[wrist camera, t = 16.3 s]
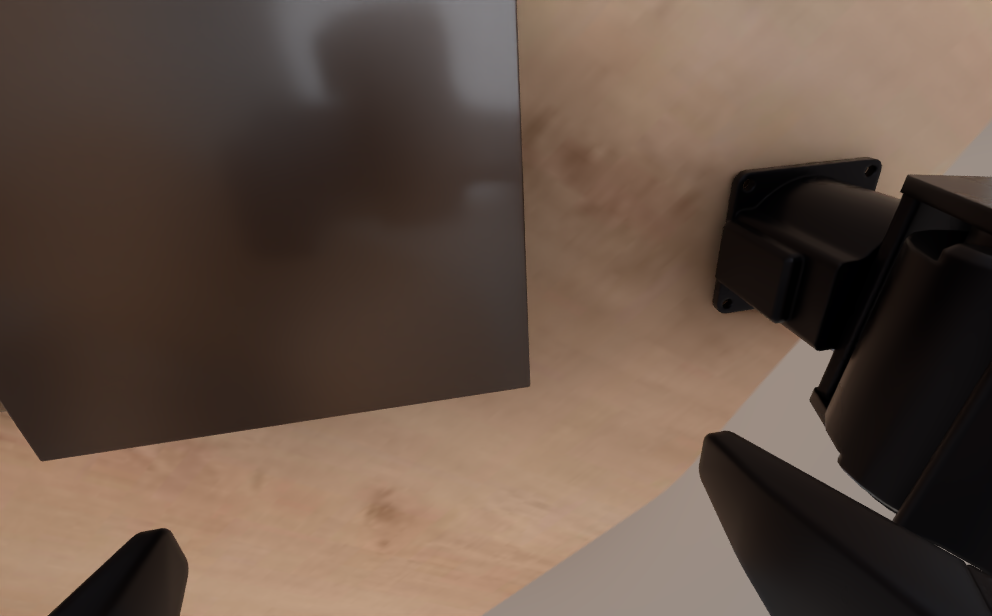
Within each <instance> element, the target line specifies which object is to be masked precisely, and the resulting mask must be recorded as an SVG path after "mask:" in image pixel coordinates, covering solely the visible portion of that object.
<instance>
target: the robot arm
mask: <svg viewBox="0 0 992 616" xmlns="http://www.w3.org/2000/svg"><path fill="white" fill-rule="evenodd" d="M867 168H868V170H867V172H866V173H865V171H866V169H867ZM881 168H882V165H881V162H880V161H879V160H877V159H873V158H869V157H863V158H854V159H845V160H836V161H826V162H817V163H808V164H799V165H789V166H780V167H771V168H762V169H752V170H745V171H741V172H740V173H738V174H737V175H736V176H735V178H734V179H733V182H732V187H731V193H730V199H729V205H728V211H727V217H726V223H725V225H724V227H723V233H722V239H721V245H720V251H719V257H718V263H717V269H716V275H715V277H716V284H715V290H714V296H713V306H714V307H715V308H716V309H717V310H718V311H719V312H721V313H731V312H738V311H745V310H752V309H756V310H757V311H759V312H760V313H761V314H763V315H764V316H765V317H766V318H768V319H769V320H770V321H772V322H773V323H781V324H782V325H784V326H785V327H786V328H788V329H789V330H790V331H792V332H793V333H794V334H796V335H797V336H798V337H800V338H801V339H802V340H804V341H805V342H807V343H808V344H809V345H810V346H812V347H813V348H815V349H816V350H817V351H823V350H829V349H831V350H832V351H833V355H832V357H831V359H830V362H829V364H828V366H827V368H826V371H825V373H824V375H823V377H822V380H821V382H820V384H819V386H818V387H815V388H814V390H813V393H812V395H811V397H810V402H811V404H812V406H813V407H814V409H815V411H816V412H817V414H818V416H819V417H820V419H821V421H822V422H823V424H824V426H825V427H826V431H827V433H828V435H829V436H830V438H831V440H832V442H833V443H834V445H835V447H836V449H837V450H838V451H839V452H840V455H839V457H838V463H839V465H840V466H841V468H842V469H843V470H844V471H845V472H846V473H847V474H848V475H849V476H850V477H851V478H852V479H853V480H854V481H855V482H856V483H857V484H858V485H859V486H860V487H862V488H863V489H864V490H866V491H867V492H868V493H869V494H870V495H871V496H872V497H873V498H874V499H876V500H877V501H878V502H880V503H881V504H882V505H884V506H885V507H886V508H888V509H889V510H891V511H893V512H894V513H896V516H895V517H894V519H893V521H891V520H889V519H888V518H886V517H884V516H882V515H880V514H878V513H877V512H875V511H873V510H871V509H870V508H868V507H866V506H864V505H862V504H861V503H859V502H857V501H855V500H853V499H851V498H850V497H848V496H846V495H844V494H842V493H841V492H839V491H837V490H835V489H834V488H832V487H830V486H828V485H826V484H825V483H823V482H821V481H819V480H817V479H816V478H814V477H812V476H810V475H809V474H807V473H805V472H803V471H801V470H800V469H798V468H796V467H794V466H792V465H791V464H789V463H787V462H785V461H783V460H782V459H780V458H778V457H776V456H774V455H772V454H771V453H769V452H767V451H765V450H764V449H762V448H760V447H758V446H756V445H755V444H753V443H751V442H749V441H747V440H746V439H744V438H742V437H740V436H738V435H736V434H735V433H733V432H730V431H721V432H715V433H709V434H707V435H706V436H705V438H704V441H703V447H702V452H701V458H700V463H699V473H700V478H701V481H702V483H703V485H704V487H705V489H706V491H707V494H708V496H709V498H710V500H711V502H712V504H713V507H714V509H715V511H716V513H717V515H718V517H719V520H720V522H721V524H722V526H723V528H724V530H725V532H726V535H727V537H728V539H729V541H730V543H731V545H732V548H733V550H734V552H735V554H736V556H737V558H738V559H739V562H740V563H741V565H742V567H743V569H744V571H745V573H746V574H747V576H748V578H749V579H750V581H751V583H752V584H753V586H754V588H755V589H756V591H757V593H758V595H759V597H760V598H761V600H762V601H763V603H764V605H765V607H766V608H767V610H768V612H769V613H770V615H771V616H992V177H980V176H946V175H912V174H910V175H907V177H906V180H905V182H904V184H903V187H902V189H901V191H900V192H901V193H903V196H902V198H901V199H898V198H895V197H892V196H889V195H886V194H882V193H879V192H876V191H875V189H876V186H877V182H878V179H879V176H880V172H881ZM748 179H749V183H748V185H747V186H746V187H745V188H743V185H744V182H745V181H746V180H748ZM726 299H728V300H727V302H726V303H725V304H723V302H724V301H725V300H726ZM934 544H935V545H934ZM936 545H937V546H936ZM938 546H939V547H938ZM940 547H941V548H943V549H945V550H947V551H948V552H947V551H945V550H943V549H941V548H940ZM949 552H950V553H952V554H954V555H955V556H954V555H952V554H950V553H949ZM956 556H957V557H956ZM958 557H959V558H961V559H963V560H964V561H966V562H968V563H970V564H971V565H966V564H965V562H964V561H963V560H961V559H959V558H958ZM972 565H973V566H972ZM974 566H975V567H974ZM976 567H977V568H976ZM979 569H980V570H979ZM981 570H982V571H981ZM187 578H188V562H187V559H186V557H185V555H184V554H183V552H182V550H181V548H180V546H179V545H178V543H177V541H176V539H175V537H174V536H173V534H172V532H171V531H170V530H168V529H166V528H161V529H155V530H150V531H144V532H140V533H138V534H136V535H135V536H133V537H132V538H131V539H130V540H129V541H128V542H127V543H126V544H125V545H123V546H122V547H121V548H120V549H119V550H118V551H117V552H116V553H115V554H114V555H113V556H112V557H111V558H109V559H108V560H107V561H106V562H105V563H104V564H103V565H102V566H101V567H100V568H99V569H98V570H96V571H95V572H94V573H93V574H92V575H91V576H90V577H89V578H88V579H87V580H86V581H85V582H84V583H82V584H81V585H80V586H79V587H78V588H77V589H76V590H75V591H74V592H73V593H72V594H71V595H70V596H68V597H67V598H66V599H65V600H64V601H63V602H62V603H61V604H60V605H59V606H58V607H57V608H56V609H54V610H53V611H52V612H51V613H50V614H49V615H48V616H180V612H181V607H182V602H183V597H184V592H185V588H186V583H187Z"/></svg>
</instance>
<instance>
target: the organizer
mask: <svg viewBox="0 0 992 616" xmlns="http://www.w3.org/2000/svg"><path fill="white" fill-rule="evenodd" d="M529 386H530V364H529V336H528V308H527V279H526V251H525V223H524V194H523V166H522V138H521V109H520V81H519V53H518V24H517V0H0V402H1V403H2V405H3V406H4V408H5V409H6V411H7V412H8V414H9V415H10V417H11V418H12V420H13V421H14V422H15V424H16V425H17V427H18V428H19V430H20V431H21V433H22V434H23V436H24V437H25V439H26V440H27V442H28V443H29V445H30V446H31V448H32V449H33V450H34V452H35V453H36V455H37V456H38V458H39V459H40V461H48V460H55V459H61V458H68V457H74V456H81V455H87V454H94V453H100V452H107V451H113V450H120V449H126V448H133V447H139V446H146V445H152V444H159V443H165V442H172V441H178V440H185V439H191V438H198V437H204V436H211V435H217V434H224V433H231V432H237V431H244V430H250V429H257V428H263V427H270V426H276V425H283V424H289V423H296V422H302V421H309V420H315V419H322V418H328V417H335V416H341V415H348V414H354V413H361V412H367V411H374V410H380V409H387V408H393V407H400V406H406V405H413V404H419V403H426V402H432V401H439V400H446V399H452V398H459V397H465V396H472V395H478V394H485V393H491V392H498V391H504V390H511V389H517V388H524V387H529Z"/></svg>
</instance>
